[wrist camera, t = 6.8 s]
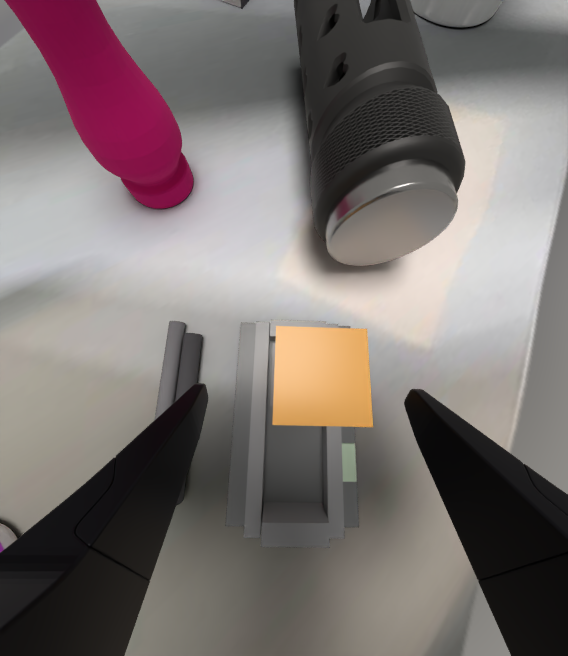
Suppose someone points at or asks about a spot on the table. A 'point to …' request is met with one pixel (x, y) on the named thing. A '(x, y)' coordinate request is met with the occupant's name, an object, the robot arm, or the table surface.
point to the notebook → (237, 2)
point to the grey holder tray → (285, 459)
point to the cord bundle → (178, 369)
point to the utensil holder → (456, 11)
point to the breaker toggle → (321, 377)
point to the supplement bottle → (6, 537)
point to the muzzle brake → (375, 131)
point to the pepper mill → (110, 99)
